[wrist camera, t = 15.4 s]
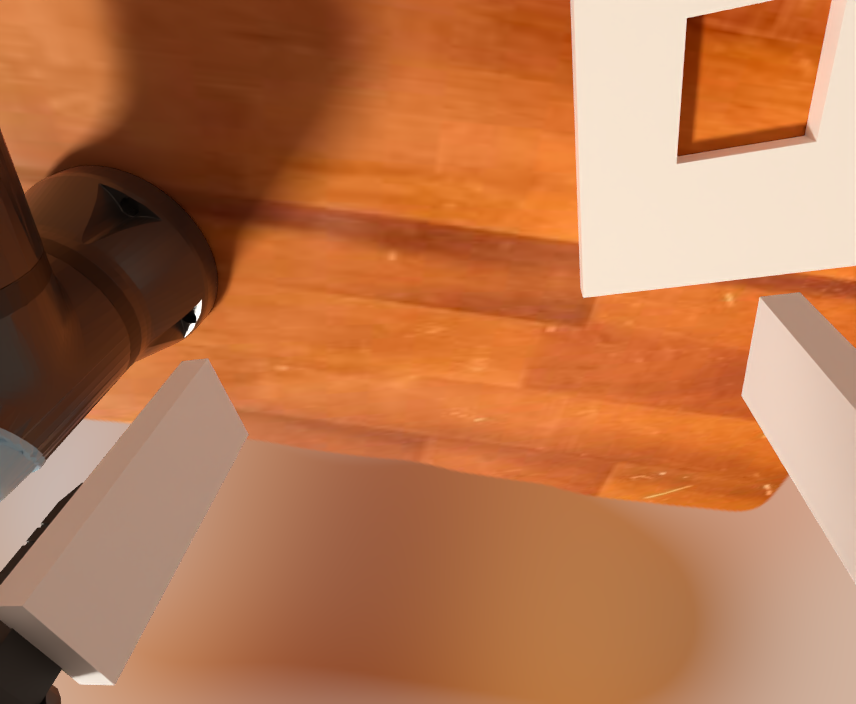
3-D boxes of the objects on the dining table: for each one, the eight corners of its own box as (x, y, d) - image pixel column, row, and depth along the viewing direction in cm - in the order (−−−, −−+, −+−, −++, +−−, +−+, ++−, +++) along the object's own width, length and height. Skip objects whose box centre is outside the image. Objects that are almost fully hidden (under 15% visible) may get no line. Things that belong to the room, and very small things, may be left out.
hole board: (580, 288, 41) (583, 299, 39) (558, -353, 23) (562, -374, 21) (872, 252, 37) (887, 263, 35) (1119, -550, 19) (1168, -592, 18)
